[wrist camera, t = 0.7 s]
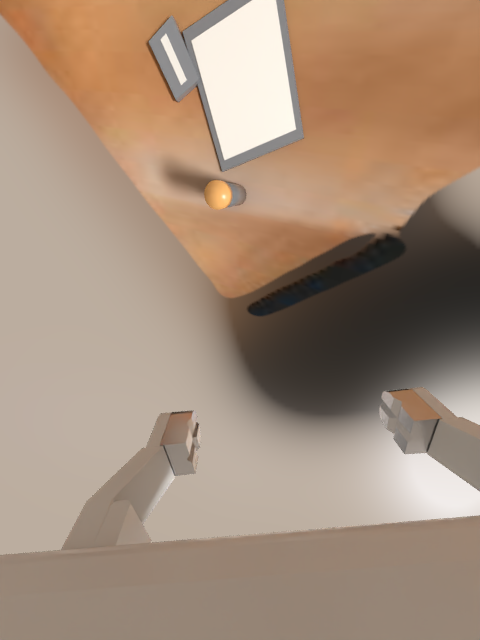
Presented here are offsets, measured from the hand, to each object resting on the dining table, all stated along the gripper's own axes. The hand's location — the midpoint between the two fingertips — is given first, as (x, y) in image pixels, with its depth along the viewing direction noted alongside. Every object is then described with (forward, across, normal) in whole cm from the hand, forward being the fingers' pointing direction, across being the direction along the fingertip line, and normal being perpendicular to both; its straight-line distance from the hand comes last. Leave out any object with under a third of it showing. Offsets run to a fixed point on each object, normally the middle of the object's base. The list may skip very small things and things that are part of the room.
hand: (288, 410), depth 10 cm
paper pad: (+42, -3, -27) cm, 49 cm away
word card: (+44, +8, -32) cm, 55 cm away
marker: (+43, 0, -12) cm, 45 cm away
